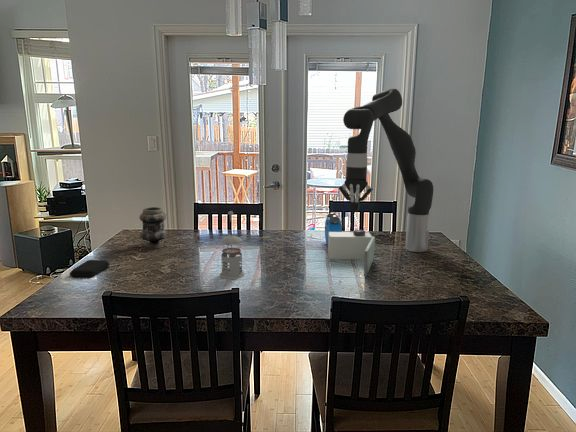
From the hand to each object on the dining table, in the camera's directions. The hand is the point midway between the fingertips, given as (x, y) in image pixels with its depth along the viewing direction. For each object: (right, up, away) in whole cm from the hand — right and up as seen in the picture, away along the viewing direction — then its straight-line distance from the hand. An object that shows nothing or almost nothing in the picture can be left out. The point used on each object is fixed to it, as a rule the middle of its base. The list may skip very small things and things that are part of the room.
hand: (354, 211), depth 159 cm
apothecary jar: (-88, -16, +41) cm, 98 cm away
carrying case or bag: (-102, -24, +7) cm, 105 cm away
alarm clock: (-4, -16, +45) cm, 48 cm away
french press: (-47, -24, +5) cm, 53 cm away
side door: (+8, -22, +12) cm, 27 cm away
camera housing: (+2, -19, +27) cm, 33 cm away
